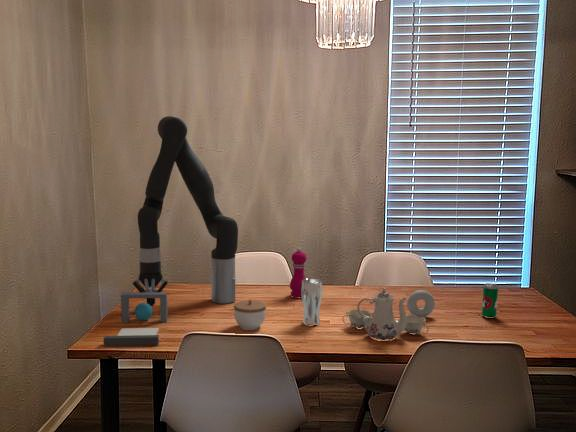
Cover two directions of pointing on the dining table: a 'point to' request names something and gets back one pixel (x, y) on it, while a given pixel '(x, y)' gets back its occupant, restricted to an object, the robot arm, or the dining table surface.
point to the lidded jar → (249, 314)
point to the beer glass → (311, 300)
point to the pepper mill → (298, 273)
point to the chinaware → (385, 318)
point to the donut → (418, 296)
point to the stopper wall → (131, 340)
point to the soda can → (490, 300)
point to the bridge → (160, 295)
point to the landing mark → (138, 331)
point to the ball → (143, 311)
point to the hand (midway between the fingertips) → (151, 305)
